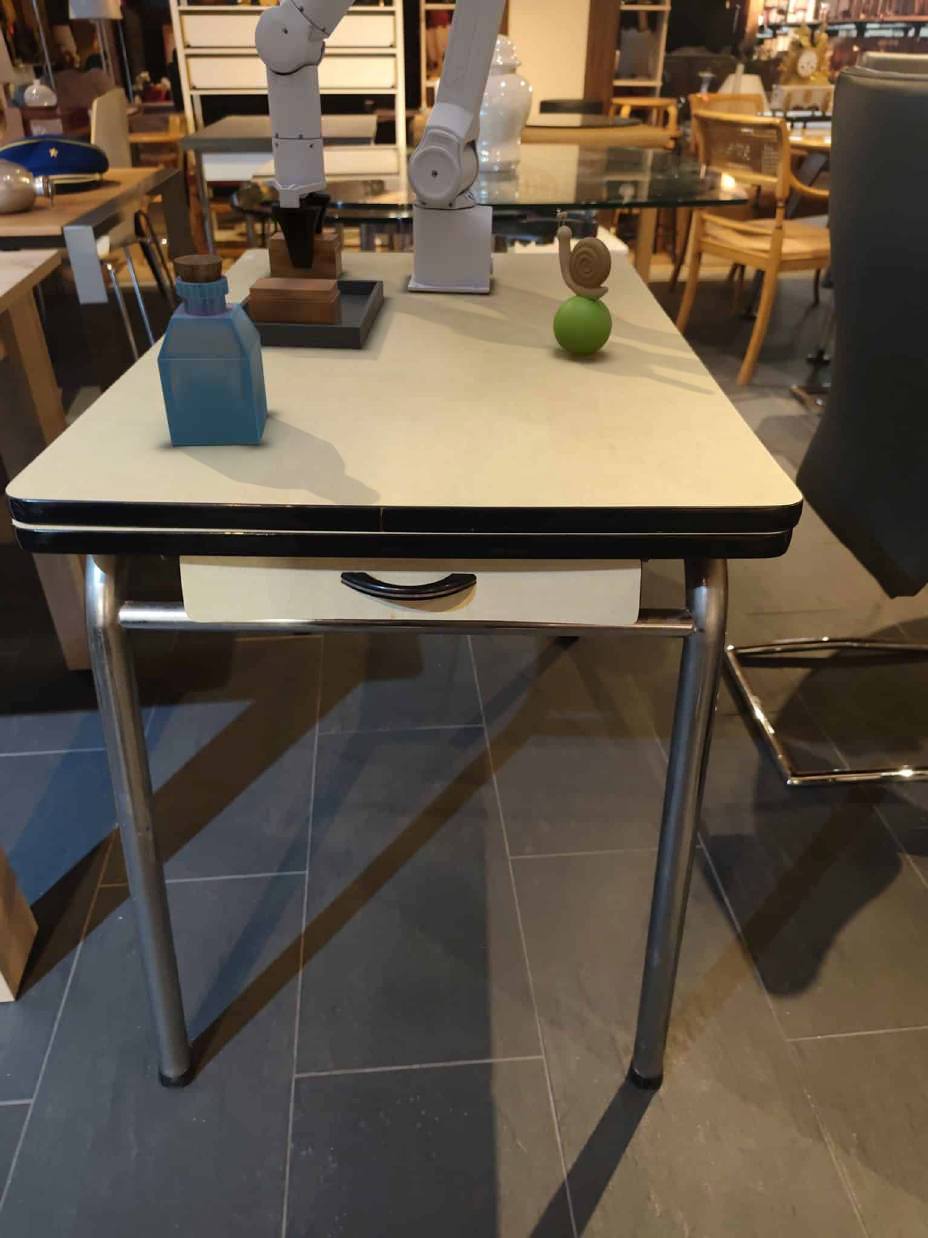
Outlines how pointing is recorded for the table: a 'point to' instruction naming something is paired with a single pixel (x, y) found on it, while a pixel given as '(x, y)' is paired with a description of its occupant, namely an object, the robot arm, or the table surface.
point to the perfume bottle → (211, 362)
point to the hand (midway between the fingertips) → (306, 263)
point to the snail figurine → (583, 294)
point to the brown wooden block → (295, 301)
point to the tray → (356, 321)
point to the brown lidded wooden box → (323, 263)
